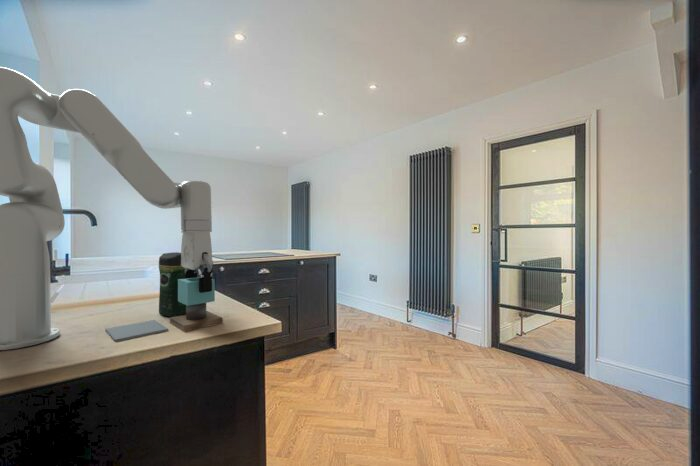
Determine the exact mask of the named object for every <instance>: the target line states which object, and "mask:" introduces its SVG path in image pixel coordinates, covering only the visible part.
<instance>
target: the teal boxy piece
mask: <svg viewBox="0 0 700 466" xmlns="http://www.w3.org/2000/svg"><path fill="white" fill-rule="evenodd" d="M199 277H200V276H197V277H196V278H186V279H178V302H181V303H183V304H185V305H187V306H189V305H195V304H201V303H206V304H207V303H213V302H215V300H216V298H215V294H216V293H215V289H216V288H215V283H216V282H215V281H216V280H215V279H213V278H212V291H210V292H204V293H200V292H199Z"/></svg>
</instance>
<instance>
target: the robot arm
mask: <svg viewBox="0 0 700 466" xmlns="http://www.w3.org/2000/svg"><path fill="white" fill-rule="evenodd" d="M19 118H20V119H23V120H25V121H26V122H28V123H32V124H34V125H38V126H42V127H47V128H52V129H56V130H63V131H68V132H73V133H79V134H81V135H82V136H83V137H84V138H85V139H86V140H87V142H88V143H89V144H91V146H93V147H94V149H95V150H96V151H97V152H98V153H99V154H100V155H101V156H102V157H103V158H104V159H105V160H106V162H107V163H109V165H110V166H112V167H113V168H114V169H115V170H116V171H117V172H118V173H119V175H121V176H122V177H123V178H124V180H126V182H127V183H128V184H129V185H130V186H131V187H132V188H133V189H134V190H135V191H136V192H137V193H138V194H139V195H140V196H141V197H142V198H143V199H144V200H145V201H146V202H147V203H149V204H150V205H152V206H155V207H157V208H160V209H166V210H167V209H176V208H180V232H181V234H182V236H181V247H180V249H181V250H180V251H181V252H180V253H181V266H182V267H183V268H185V269H184V273H185V279H186V278H196V277H199V292H200V293H204V292H210V291H212V279H213V271H214V270H213V266H214V260H213V251H212V250H213V248H212V238H211V233H212V232H213V229H212V227H213V226H212V223H213V222H212V188H211V185H210V184H209V183H208V182H206V181H202V180H200V181H199V180H186V181H185V180H184V181H183V182H181V183H180V182H175V181H173V180H172V179H171V178H170V177H169V176H168V175H167V174H166V172H165V171H163V169H161V167H160V166H159V165H158V164H157V163H156V162H155V161H154V160H153V159H152V158H151V156H150V155H149V154H148V153H147V152H146V151H145V149H143V147H142V145H141V143H140V142H139V141H138V139H137V138H136V137H135V135H133V134H132V133H131V132H130V131H129V129H127V127H126V126H124V124H123V123H122V122H121V121H120V120H119V119H118V118H117V117H116V116H115V114H113V113H112V111H111V110H110V109H109V108H108V107H107V106H106V105H105V104H104V103H103V102H102V101H101V99H100V98H98V96H96V95H95V94H93V93H92V92H90V91H88V90H86V89H82V88H81V89H80V88H73V89H71V88H70V89H67V90H66V91H64V92H63V93H62V94H61V95H58V94H53V93H50V92H47V91H46V90H45V89H43V88H42V87H41V86H40V85H39V84H38V83H36V81H34V80H32V79H31V78H29V77H28V76H27V75H24V74H23V73H21V72H19V71H17V70H14V69H11V68H8V67H3V66H0V196H2V197H7V198H8V199H9V202H6V203H5V202H4V203H2V204H0V351H6V350H7V351H8V350H9V351H10V350H15V349H22V348H26V347H31V346H35V345H39V344H43V343H45V342H46V343H47V342H49V341H51V340H54V339H56V338H57V337H58V336H59V335H60V334H61V333H60V332H61V330H60V328H57V327H52V320H51V319H52V318H51V317H52V316H51V315H52V304H51V258H50V252H49V247H48V242H49V241H53V240H54V239H56V238H57V237H59V236H60V235H61V234H62V233H63V232H64V229H65V224H66V223H65V221H66V220H65V216H64V211H63V207H62V203H61V199H60V195H59V190H58V187H57V183H56V181H55V177H54V176H53V174H52V173H51V172H50V171H49V170H48V168H46V167H45V166H43V165H41V164H39V163H37V162H35V161H34V160H33V158H32V156H31V154H30V150H29V147H28V143H27V142H28V141H27V138H26V135H25V132H24V129H23V128H22V125H21V122H20V121H19ZM197 270H198V272H197ZM186 273H187V274H186ZM198 275H199V276H198Z"/></svg>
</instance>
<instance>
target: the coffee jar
mask: <svg viewBox="0 0 700 466" xmlns="http://www.w3.org/2000/svg"><path fill="white" fill-rule="evenodd" d="M158 269H159V270H158V271H159V299H158V314H160V315H161V316H167V317H170V318H171V317H176V316H182V315H186V305H185V304H183V303H181V302H178V279H185V273H184V269H185V268H183V267H182V266H181V252H178V251H177V252H176V251H175V252H165V253H162V254H161V255H160V256H159V258H158ZM186 274H187V273H186Z"/></svg>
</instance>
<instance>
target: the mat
mask: <svg viewBox="0 0 700 466" xmlns="http://www.w3.org/2000/svg"><path fill="white" fill-rule="evenodd" d="M104 329H105V332H106V333H107V335H108V336H109V337H110V338H111V339H112V340H113V341H114V342H115V343H116V342H122V341H125V340H131V339H135V338H140V337H144V336H149V335H153V334H154V335H155V334H159V333H163V332H167V331H169V329H168V327H166V326H164V325H163V324H162V323H160V322H159V321H157V320H156V319H153V320H152V319H151V320H146V321H141V322H136V323H129V324H125V325H119V326H118V325H117V326H113V327H107V328H104Z"/></svg>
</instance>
